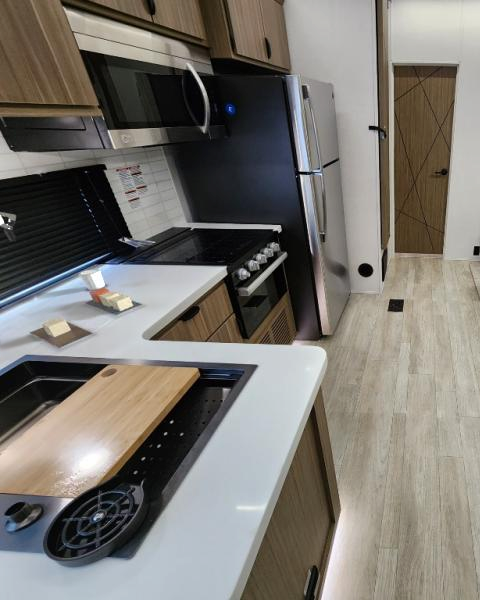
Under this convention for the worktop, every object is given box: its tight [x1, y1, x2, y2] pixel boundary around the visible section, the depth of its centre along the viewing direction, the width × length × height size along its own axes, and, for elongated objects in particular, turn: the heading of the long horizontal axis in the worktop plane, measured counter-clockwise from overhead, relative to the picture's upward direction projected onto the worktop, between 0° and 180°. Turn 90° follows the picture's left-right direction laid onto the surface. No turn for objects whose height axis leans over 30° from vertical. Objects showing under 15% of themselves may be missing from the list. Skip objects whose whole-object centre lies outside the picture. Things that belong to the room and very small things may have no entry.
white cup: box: [78, 268, 106, 291], centre depth 140 cm, size 7×7×7 cm
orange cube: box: [88, 287, 111, 303], centre depth 129 cm, size 4×4×4 cm
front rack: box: [29, 321, 94, 349], centre depth 110 cm, size 20×9×1 cm, turn 64°
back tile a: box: [109, 294, 133, 311], centre depth 124 cm, size 4×4×4 cm
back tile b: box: [99, 290, 121, 307], centre depth 126 cm, size 4×4×4 cm
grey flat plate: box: [84, 299, 143, 316], centre depth 127 cm, size 22×9×1 cm, turn 64°
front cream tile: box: [41, 317, 71, 337], centre depth 109 cm, size 4×4×4 cm
